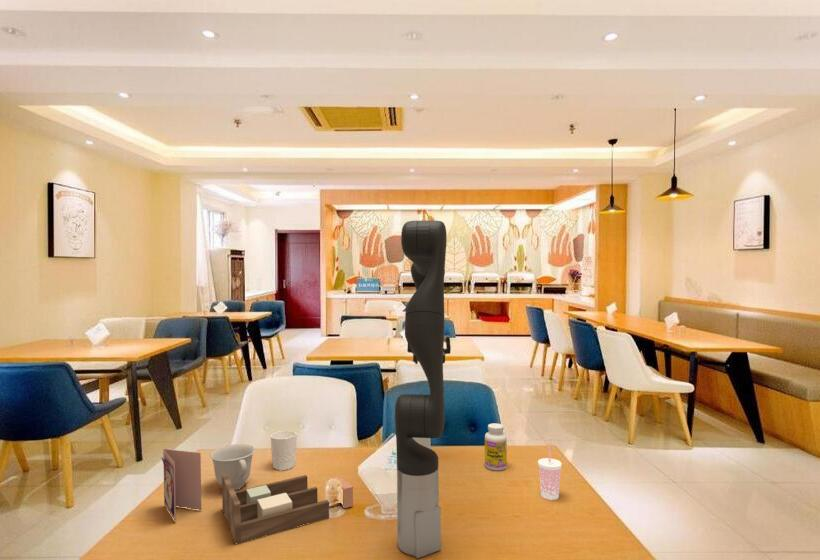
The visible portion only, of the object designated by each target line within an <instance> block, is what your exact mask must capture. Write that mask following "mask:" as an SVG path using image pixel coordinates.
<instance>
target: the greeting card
mask: <svg viewBox="0 0 820 560" xmlns="http://www.w3.org/2000/svg"><path fill="white" fill-rule="evenodd" d="M162 453H163V454H162V455H163V457H162V456H160V459H161V461H162V464H163V499H164V500H163V504H164V505H165V506H166V508H167V509H168V511H169V512H170V514H171V515H172V517H173V518H174V520H175V522H176V523H177V521H176V520H177V517H176V511H177V510H176V509H177V508H176V506H179V507H187V508H191V509H199V510H201V511H202V466H201V465H202V463H201V462H202V461H201V460H202V457H201V452H195V451H193V452H192V451H186V450H185V451H184V450H175V449H167V448H163V452H162ZM164 505H163V506H164ZM166 508H165V509H166ZM168 511H167V512H168ZM170 514H169V515H170ZM172 517H171V518H172ZM174 520H173V521H174ZM175 522H174V523H175Z"/></svg>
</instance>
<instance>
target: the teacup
mask: <svg viewBox="0 0 820 560" xmlns="http://www.w3.org/2000/svg"><path fill="white" fill-rule="evenodd" d="M255 451H256V448H255V447H254V446H253V445H250V444H244V443H243V444H242V443H240V444H239V443H238V444H237V443H236V444H229V445H225V446H221V447H219V448H216V449H215V450H213V451H212V452H211V453H210V454H209V458H210V459H211V460H212V464H213V469H214V475H215V479H216V482H217V483H218V484H219V485H220V486H222V475H224V474H227V475H228V477H229V480H230V482H231V484H232V486H233V488H234V490H235V491H237V490H236V489H238V490H240V489H239V488H241V487H242V488H244V486H245V482H246V481H247V480H248V479H249V477H250V474H251V471H252V459H253V454H254V453H255ZM243 485H244V486H243ZM242 488H241V489H242Z"/></svg>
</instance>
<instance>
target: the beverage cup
mask: <svg viewBox="0 0 820 560" xmlns="http://www.w3.org/2000/svg"><path fill="white" fill-rule="evenodd" d="M551 445H552V444H551V443H548V457H544V458H540V459H538V461H537V465H538V471H539V484H540V496H541V497H542V498H543V499H545V500H550V501H551V500H552V501H553V500H558V499H559V498H560V486H561V485H560V483H561V482H560V481H561V470H562V465H563V464H562V462H561V461H560V460H558V459H556V458H551V455H552V454H551V447H552V446H551Z"/></svg>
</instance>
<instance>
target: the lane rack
mask: <svg viewBox="0 0 820 560" xmlns="http://www.w3.org/2000/svg"><path fill="white" fill-rule="evenodd" d="M264 485H267V487H268V489H269V490H270V492H271V496H274V495H278V494H282V493H286V494H287V495H288V496H289V498H290V499H291V501H292V509H291V510H287V511H283V512H279V513H276V514H272V515H268V516H264V517H261V518H258V512H257V502H253V503H249V504H247V495H246V489H251V488H255V487H259V486H264ZM221 492H222V493H221V494H222V495H221V498H222V499H221V500H222V501H221V506H222V512H223V511H224V513H223V515H224V514H225V515H224V517H226V518H225V520H226V519H227V521H226V523H227V522H228V523H227V526H228V525H229V526H228V528H230V529H229V531H230V530H231V531H230V534H231V533H232V534H231V537H232V536H233V537H232V539H234V540H233V542H234V541H235V542H234V545H235V544H236V543H240V544H242V543H241V542H243V543H245V542H244V541H247V540H250V541H252V540H251V539H254V540H256V539H255V538H257V539H259V538H258V537H261V538H263V537H262V536H264V537H266V536H265V535H268V536H270V535H269V534H271V535H274V534H273V533H275V534H278V533H281V531H282V532H284V530H285V531H288V529H289V530H292V529H294V527H296V528H298V527H297V526H299V527H301V526H300V525H303V524H306V525H308V524H307V523H310V524H312V522H313V523H316V522H315V521H317V522H319V521H323V520H327V519H329V518H330V506H329V503H330V501H329V500H328V499H326V500H322V501H318V500H319V499H318V497H319V496H318V487H317V486H314V487H310V488H308V476H307V475H306V474H305V475H300V476H297V477H291V478H289V479H288V478H287V479H283V480H279V481H278V480H277V481H274V482H270V483H266V484H261V485H258V486H254V487H253V486H252V487H248V488H243V489H238V490H234V488H233V486H232V484H231V482H230V480H229V477H228V475H227V474H224V475H222V485H221ZM303 526H304V525H303ZM291 528H292V529H291ZM277 532H278V533H277ZM247 542H248V541H247ZM236 545H237V544H236Z"/></svg>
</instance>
